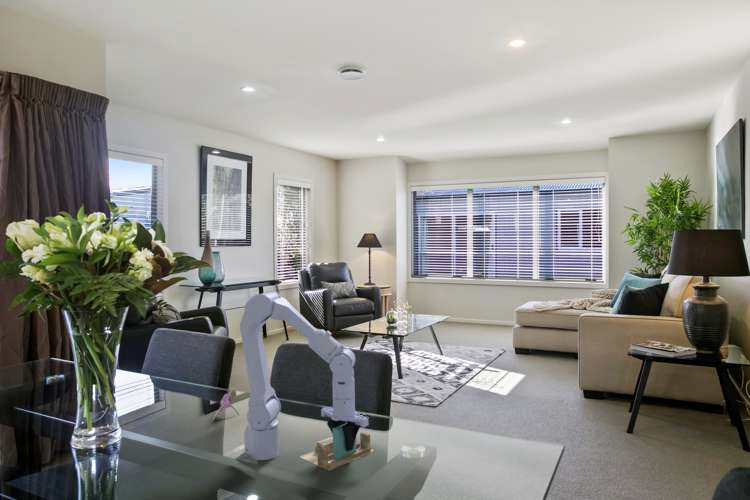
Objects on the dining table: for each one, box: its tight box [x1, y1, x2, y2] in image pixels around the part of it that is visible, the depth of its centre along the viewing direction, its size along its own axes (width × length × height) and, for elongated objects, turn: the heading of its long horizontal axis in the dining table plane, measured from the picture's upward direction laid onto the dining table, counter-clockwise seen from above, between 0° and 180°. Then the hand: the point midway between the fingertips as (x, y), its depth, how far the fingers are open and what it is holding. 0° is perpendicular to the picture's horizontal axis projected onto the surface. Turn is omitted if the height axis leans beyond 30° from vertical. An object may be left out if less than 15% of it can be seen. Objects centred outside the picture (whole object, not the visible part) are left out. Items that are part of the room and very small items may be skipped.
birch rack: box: [299, 431, 375, 472], centre depth 136 cm, size 12×16×5 cm
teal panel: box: [332, 422, 357, 460], centre depth 134 cm, size 2×6×8 cm, turn 136°
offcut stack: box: [314, 436, 333, 454], centre depth 138 cm, size 4×7×2 cm, turn 135°
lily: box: [212, 386, 240, 421], centre depth 170 cm, size 12×12×10 cm
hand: (344, 448), depth 134 cm, fingers closed on teal panel, 3 cm apart
